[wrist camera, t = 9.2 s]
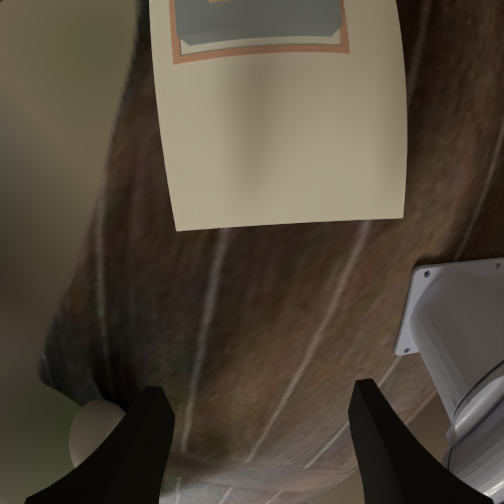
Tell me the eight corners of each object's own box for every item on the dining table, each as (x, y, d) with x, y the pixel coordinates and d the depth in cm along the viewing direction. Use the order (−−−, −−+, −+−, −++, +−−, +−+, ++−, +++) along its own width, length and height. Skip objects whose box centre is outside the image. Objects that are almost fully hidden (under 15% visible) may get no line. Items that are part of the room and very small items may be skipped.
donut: (148, 434, 29) (130, 507, 20) (123, 430, 29) (101, 499, 20) (114, 380, 25) (78, 469, 16) (85, 377, 25) (47, 458, 16)
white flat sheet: (376, -63, 9) (379, -67, 8) (398, 214, 17) (403, 218, 16) (151, -54, 10) (148, -59, 9) (179, 227, 18) (176, 231, 17)
